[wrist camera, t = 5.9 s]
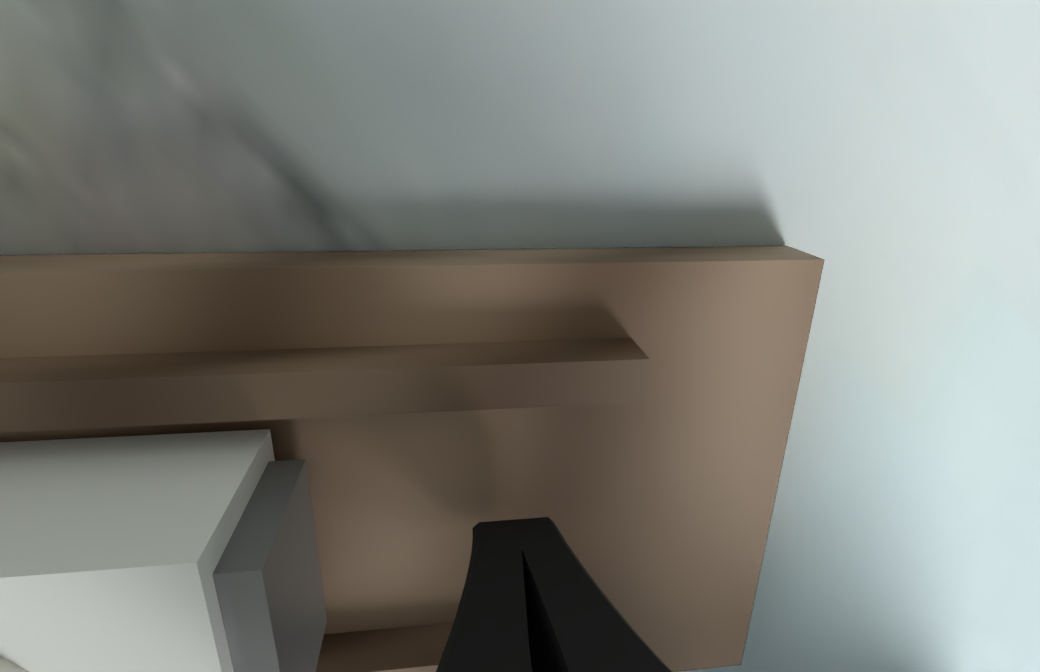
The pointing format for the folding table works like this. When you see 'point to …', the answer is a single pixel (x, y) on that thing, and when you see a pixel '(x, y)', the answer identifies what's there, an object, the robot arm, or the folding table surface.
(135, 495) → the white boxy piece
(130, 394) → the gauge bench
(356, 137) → the folding table surface
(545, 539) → the robot arm
